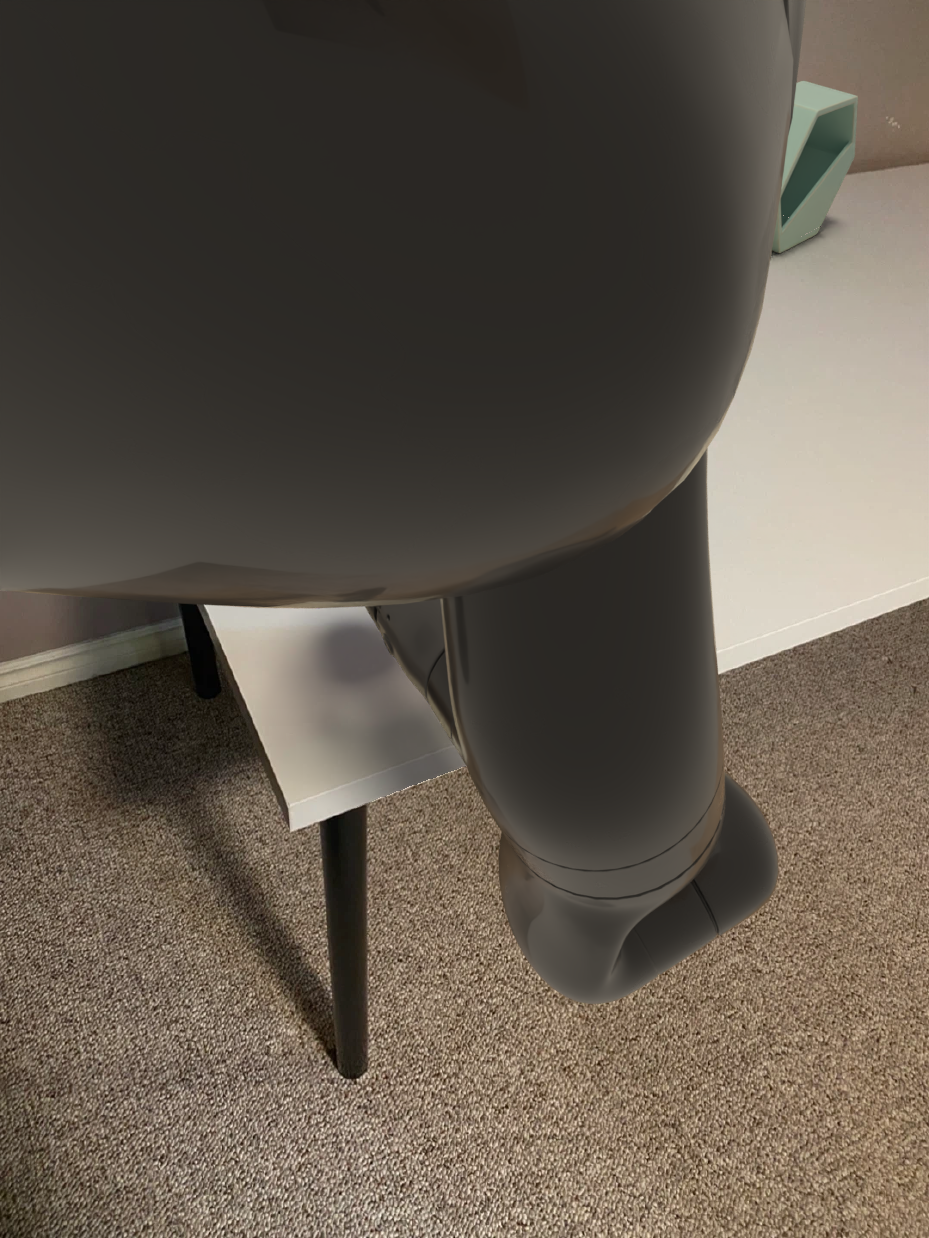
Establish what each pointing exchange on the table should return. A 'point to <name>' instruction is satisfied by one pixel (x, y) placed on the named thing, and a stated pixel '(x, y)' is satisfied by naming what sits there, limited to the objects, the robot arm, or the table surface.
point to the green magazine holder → (814, 160)
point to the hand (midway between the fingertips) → (330, 428)
